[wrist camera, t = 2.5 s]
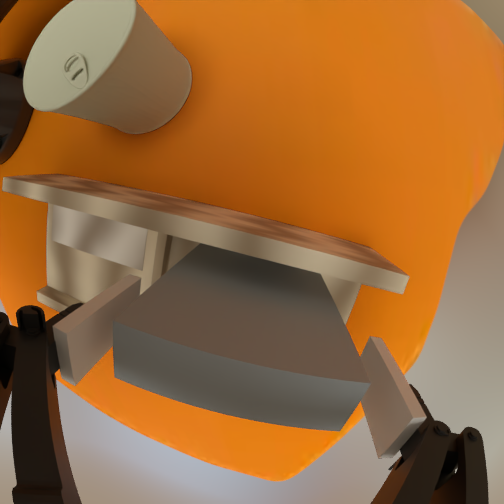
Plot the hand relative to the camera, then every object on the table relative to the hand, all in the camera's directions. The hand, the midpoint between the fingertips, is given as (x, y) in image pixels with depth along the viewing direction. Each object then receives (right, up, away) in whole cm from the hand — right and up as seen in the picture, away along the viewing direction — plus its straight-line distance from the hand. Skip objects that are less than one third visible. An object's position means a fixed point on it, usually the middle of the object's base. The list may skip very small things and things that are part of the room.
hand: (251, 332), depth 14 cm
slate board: (0, +2, +9) cm, 9 cm away
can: (-10, +19, +6) cm, 23 cm away
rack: (-7, +2, +10) cm, 13 cm away
